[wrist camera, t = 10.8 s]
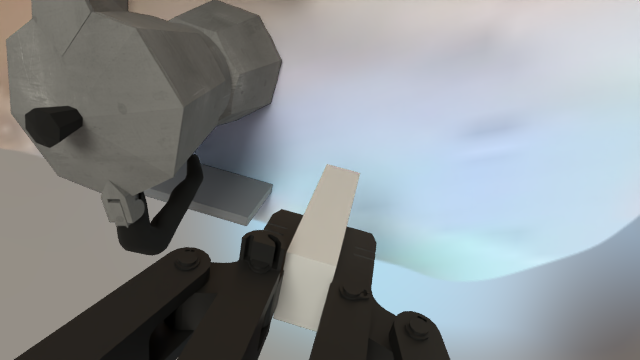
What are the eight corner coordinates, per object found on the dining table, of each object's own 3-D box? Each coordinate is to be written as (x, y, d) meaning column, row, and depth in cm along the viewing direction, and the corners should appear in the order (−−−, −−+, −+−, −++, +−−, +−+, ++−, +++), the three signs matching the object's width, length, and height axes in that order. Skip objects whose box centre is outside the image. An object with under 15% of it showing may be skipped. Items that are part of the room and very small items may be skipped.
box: (122, 149, 37) (74, 174, 32) (115, -98, 28) (46, -121, 23) (271, 192, 36) (246, 226, 30) (312, -55, 27) (287, -68, 21)
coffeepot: (154, -24, 30) (-141, -47, 14) (272, -38, 28) (83, -84, 12) (197, 164, 36) (26, 297, 20) (295, 165, 34) (192, 313, 18)
